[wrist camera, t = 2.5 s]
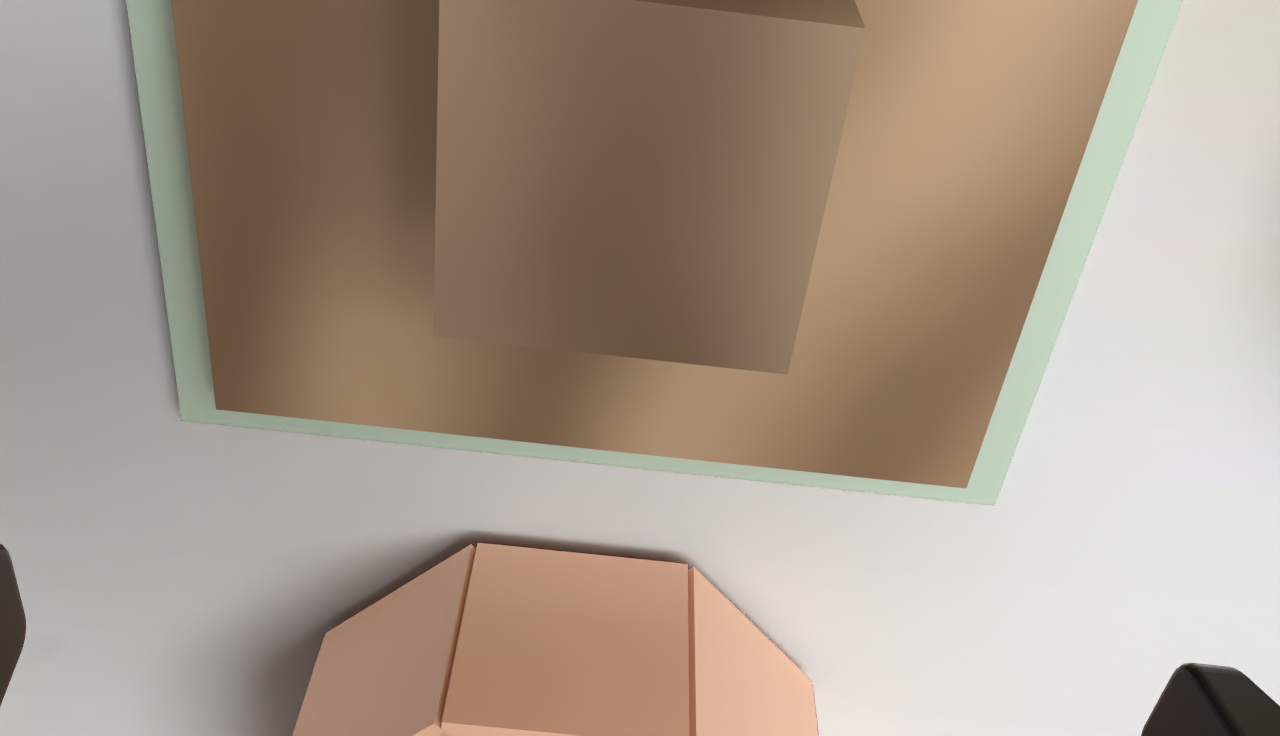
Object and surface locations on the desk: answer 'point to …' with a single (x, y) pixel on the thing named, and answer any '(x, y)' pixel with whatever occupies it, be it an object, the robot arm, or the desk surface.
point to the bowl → (554, 655)
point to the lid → (638, 216)
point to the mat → (995, 455)
